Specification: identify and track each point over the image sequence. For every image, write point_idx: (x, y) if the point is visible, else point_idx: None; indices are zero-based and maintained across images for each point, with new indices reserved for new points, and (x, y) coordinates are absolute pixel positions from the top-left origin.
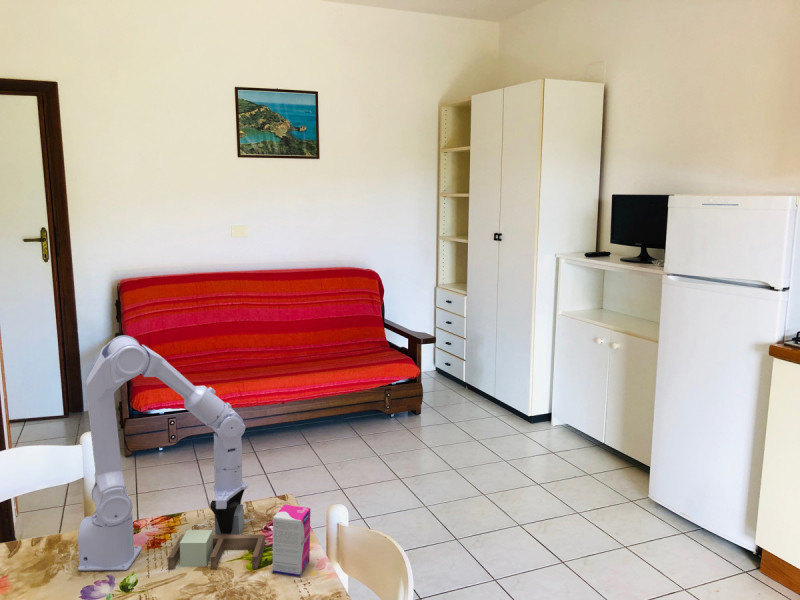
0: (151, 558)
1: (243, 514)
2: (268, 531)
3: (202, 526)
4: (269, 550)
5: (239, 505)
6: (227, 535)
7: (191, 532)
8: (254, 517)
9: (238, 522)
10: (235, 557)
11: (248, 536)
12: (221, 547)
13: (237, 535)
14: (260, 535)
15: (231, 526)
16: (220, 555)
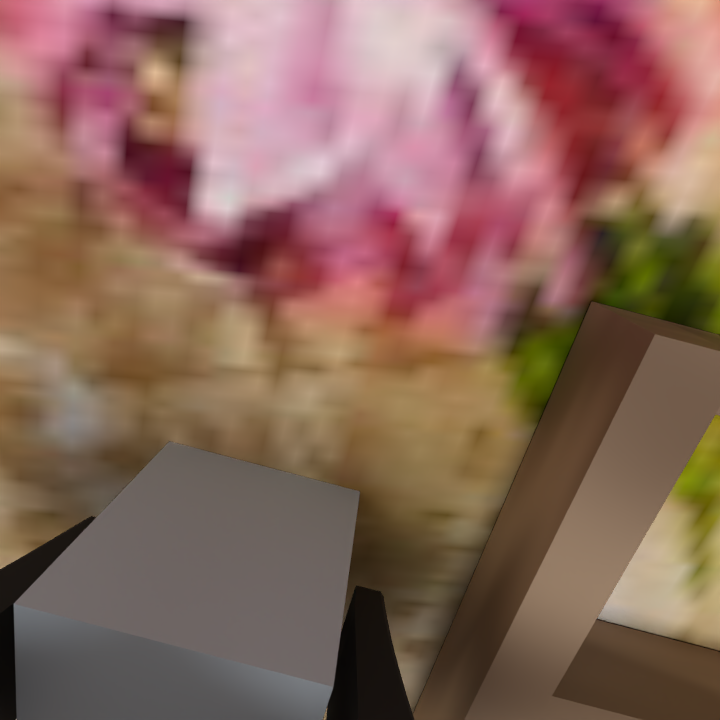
0: None
1: (109, 510)
2: (314, 239)
3: None
4: (701, 265)
5: (41, 645)
6: (508, 667)
7: None
8: (26, 344)
9: (342, 602)
10: (674, 542)
11: (620, 510)
12: (628, 683)
13: (544, 596)
14: (659, 387)
15: (393, 654)
16: (644, 648)
